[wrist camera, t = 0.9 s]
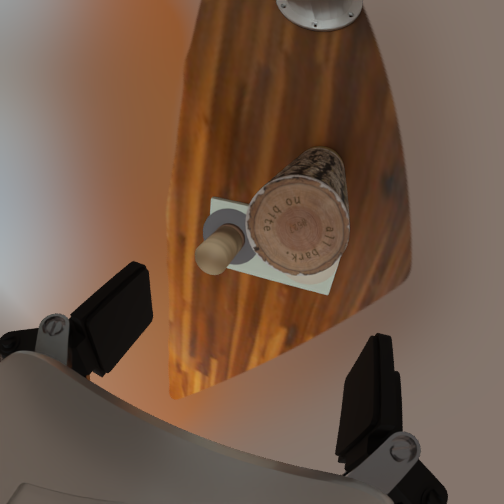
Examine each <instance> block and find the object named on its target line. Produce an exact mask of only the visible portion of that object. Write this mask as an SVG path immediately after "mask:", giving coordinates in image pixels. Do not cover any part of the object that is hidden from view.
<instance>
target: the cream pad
mask: <svg viewBox="0 0 504 504" xmlns="http://www.w3.org/2000/svg"><path fill="white" fill-rule="evenodd" d="M338 263H339V259H338V261H337V262H336V263H335V264H333V265H332V266H331V267H329V268H328V269H326V270H324V271H322V272H320V273H317V274H313V275H308V276H294V275H288V274H285V275H286V276H288V277H289V278H290V279H292V280H293V281H296V282H298V283H301V284H307V285H313V284H318V283H321V282H324V281H326V280H327V279H329V278H330V277H331V276H332V275H333V274H334V272H335V271H336V269H337V267H338Z"/></svg>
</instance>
